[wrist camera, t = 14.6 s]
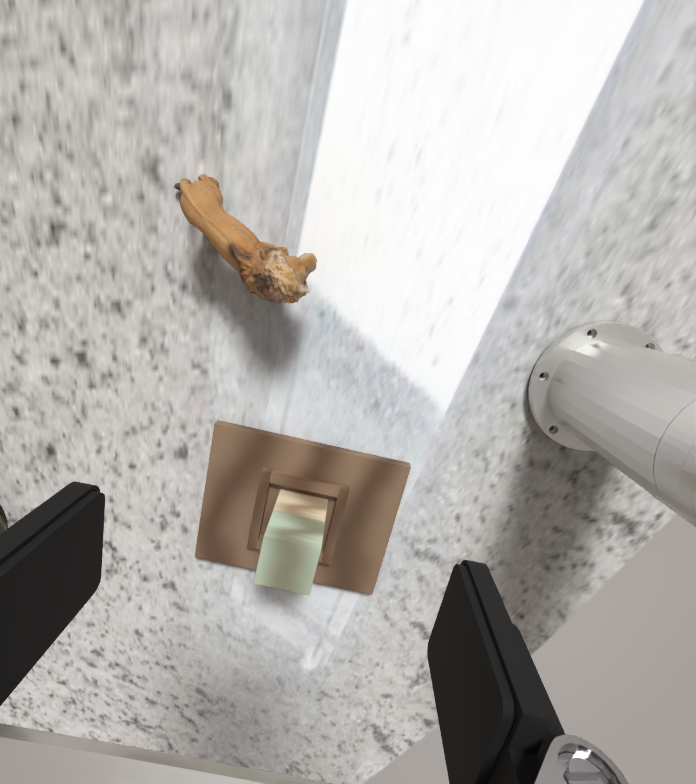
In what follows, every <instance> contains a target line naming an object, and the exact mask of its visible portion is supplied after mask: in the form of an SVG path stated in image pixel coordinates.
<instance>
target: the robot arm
mask: <svg viewBox="0 0 696 784" xmlns="http://www.w3.org/2000/svg"><path fill="white" fill-rule="evenodd" d="M588 331H589V334H588V335H587V332H588ZM541 373H543V374H542V376H541V377H539V376H540V374H541ZM528 400H529V406H530V411H531V413H532V415H533V418H534V420H535V422H536V423H537V425H538V426H539V427H540V429H541V430H542V431H543V432H544V433H545V434H546V435H547V436H548V437H550V438H551V439H553V440H554V441H555V442H557V443H558V444H560V445H563V446H565V447H567V448H570V449H574V450H579V451H595V452H596V453H598V454H599V455H600V456H601V457H603V458H604V459H605V460H607V461H608V462H609V463H611V464H612V465H613V466H615V467H616V468H617V469H619V470H620V471H621V472H622V473H624V474H625V475H626V476H628V477H629V478H630V479H632V480H633V481H634V482H636V483H637V484H638V485H640V486H641V487H642V488H643V489H645V490H646V491H647V492H649V493H650V494H651V495H653V496H654V497H655V498H657V499H658V500H659V501H661V502H662V503H663V504H665V505H666V506H667V507H669V508H670V509H671V510H673V511H674V512H675V513H677V514H678V515H679V516H681V517H682V518H683V519H685V520H686V521H688V522H689V523H690V524H692V525H694V526H695V527H696V361H695V360H692V359H688V358H684V357H680V356H677V355H673V354H669V353H665V352H663V350H662V348H661V347H660V345H659V344H658V342H657V341H656V340H655V339H654V338H653V337H652V336H651V335H649V334H648V333H646V332H645V331H643V330H641V329H640V328H637V327H634V326H632V325H629V324H625V323H620V322H611V321H600V322H593V323H588V324H585V325H582V326H579V327H576V328H574V329H572V330H570V331H568V332H567V333H565V334H563V335H562V336H560V337H559V338H558V339H557V340H555V341H554V342H553V343H552V344H551V345H550V346H549V347H548V348H547V349H546V350H545V351H544V352H543V354H542V355H541V357H540V358H539V360H538V362H537V363H536V365H535V367H534V370H533V372H532V375H531V378H530V383H529V388H528ZM551 426H552V427H551ZM550 427H551V428H550ZM104 509H105V495H104V494H103V493H100V489H99V487H98V486H95V485H90V484H85V483H80V482H72V483H70V484H69V485H67V486H66V487H64V488H63V489H62V490H60V491H59V492H58V493H56V494H55V495H53V496H52V497H51V498H49V499H48V500H47V501H45V502H44V503H42V504H41V505H40V506H38V507H37V508H36V509H34V510H33V511H31V512H30V513H29V514H27V515H26V516H24V517H23V518H22V519H20V520H19V521H18V522H16V523H15V524H13V525H12V526H11V527H9V528H8V529H7V530H5V531H4V532H2V533H1V534H0V706H1V705H2V703H3V702H4V701H5V700H6V699H7V697H8V696H9V695H10V694H11V693H12V691H13V690H14V689H15V688H16V687H17V685H18V684H19V683H20V682H21V681H22V679H23V678H24V677H25V676H26V675H27V673H28V672H29V671H30V670H31V669H32V667H33V666H34V665H35V664H36V663H37V661H38V660H39V659H40V658H41V657H42V655H43V654H44V653H45V652H46V651H47V649H48V648H49V647H50V646H51V645H52V643H53V642H54V641H55V640H56V639H57V637H58V636H59V635H60V634H61V632H62V631H63V630H64V629H65V628H66V626H67V625H68V624H69V623H70V622H71V620H72V619H73V618H74V617H75V616H76V614H77V613H78V612H79V611H80V610H81V608H82V607H83V606H84V605H85V604H86V602H87V601H88V600H89V599H90V598H91V596H92V595H93V594H94V593H95V591H96V590H97V588H98V586H99V583H100V580H101V568H102V549H103V529H104ZM427 653H428V662H429V667H430V673H431V679H432V685H433V691H434V696H435V702H436V708H437V714H438V719H439V725H440V731H441V737H442V742H443V748H444V754H445V760H446V765H447V771H448V777H449V783H450V784H628V782H627V780H626V779H625V777H624V775H623V774H622V772H621V771H620V770H619V769H618V767H617V766H616V765H615V764H614V763H613V762H612V760H611V759H610V758H609V757H608V756H606V755H605V754H604V753H603V752H602V751H601V750H600V749H599V748H597V747H596V746H594V745H592V744H591V743H589V742H588V741H587V740H584V739H582V738H579V737H576V736H574V735H565V733H564V730H563V728H562V726H561V724H560V722H559V719H558V717H557V715H556V712H555V710H554V708H553V706H552V703H551V701H550V699H549V697H548V694H547V692H546V690H545V687H544V685H543V683H542V681H541V678H540V676H539V674H538V672H537V669H536V667H535V665H534V663H533V660H532V658H531V656H530V653H529V651H528V649H527V647H526V644H525V642H524V640H523V638H522V635H521V633H520V631H519V630H518V628H517V626H515V625H514V624H512V622H511V620H510V617H509V615H508V613H507V610H506V608H505V606H504V603H503V601H502V599H501V596H500V594H499V592H498V590H497V587H496V585H495V583H494V580H493V578H492V576H491V573H490V571H489V569H488V567H487V565H486V564H484V563H479V562H474V561H469V560H463V561H462V563H461V565H460V564H456V565H455V566H454V568H453V571H452V574H451V577H450V580H449V582H448V585H447V588H446V591H445V594H444V597H443V600H442V603H441V606H440V609H439V612H438V615H437V618H436V621H435V624H434V627H433V630H432V633H431V636H430V639H429V642H428V650H427ZM0 784H331V783H326V782H321V781H315V780H310V779H305V778H300V777H294V776H289V775H284V774H278V773H273V772H268V771H262V770H257V769H251V768H246V767H241V766H235V765H230V764H224V763H219V762H213V761H208V760H203V759H197V758H192V757H186V756H181V755H175V754H170V753H164V752H159V751H153V750H148V749H142V748H137V747H131V746H125V745H120V744H114V743H108V742H103V741H97V740H91V739H86V738H80V737H74V736H69V735H63V734H57V733H52V732H46V731H40V730H35V729H29V728H23V727H18V726H12V725H6V724H0Z"/></svg>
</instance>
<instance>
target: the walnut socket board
mask: <svg viewBox="0 0 696 784" xmlns="http://www.w3.org/2000/svg"><path fill="white" fill-rule="evenodd" d="M410 468H411V467H410V463H406V462H402V461H397V460H393V459H388V458H384V457H380V456H375V455H371V454H366V453H362V452H357V451H353V450H348V449H344V448H339V447H335V446H330V445H326V444H322V443H317V442H313V441H308V440H304V439H299V438H295V437H290V436H286V435H281V434H277V433H272V432H268V431H263V430H259V429H255V428H250V427H246V426H241V425H237V424H232V423H228V422H223V421H219V420H218V421H217V422H216V423H215V425H214V432H213V438H212V445H211V452H210V458H209V465H208V472H207V478H206V485H205V492H204V498H203V505H202V512H201V518H200V525H199V532H198V538H197V545H196V552H195V557H196V558H200V559H205V560H210V561H215V562H219V563H224V564H229V565H234V566H238V567H243V568H248V569H253V570H257V565H258V561H259V556H260V551H261V547H262V542H263V538H264V534H265V531H266V529H267V526H268V523H269V520H270V517H271V515H272V512H273V509H274V506H275V504H276V501H277V498H278V495H279V492H280V490H281V489H285V490H289V491H294V492H298V493H303V494H307V495H311V496H316V497H320V498H324V499H328V504H327V511H326V518H325V526H324V533H323V541H322V548H321V552H320V556H319V560H318V564H317V567H316V571H315V575H314V579H313V582H315V583H319V584H324V585H329V586H334V587H338V588H343V589H348V590H353V591H357V592H362V593H367V594H373V590H374V587H375V584H376V581H377V577H378V574H379V571H380V567H381V564H382V561H383V557H384V554H385V551H386V548H387V544H388V541H389V538H390V534H391V531H392V528H393V524H394V521H395V518H396V514H397V511H398V508H399V505H400V501H401V498H402V495H403V491H404V488H405V485H406V481H407V478H408V475H409V472H410Z"/></svg>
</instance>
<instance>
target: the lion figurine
mask: <svg viewBox="0 0 696 784" xmlns="http://www.w3.org/2000/svg"><path fill="white" fill-rule="evenodd" d="M198 179H199V180H198V181H195V182H193V183H192V184H191V182H190V180H188V179H182V180H181V182H180V183H177V184H175V186H174V188H176V189H178V190H180V191H181V192H182V195H181V198H180V205H181V209H182V211H183V213H184V215H185V217H186V218H187V220H188V221H189V222H190V223H191V224H192V225H193V226H195V227H196V228H198V229H199V230H200V231H201V232H202V233H203V234H204V235H205V236H206V237H207V238H208V240H209V241H210V242H211V243H212V244H213V246H214V247H215V248H216V249H217V251H218V252H219V253H220V255H221V256H222V257H223V258H224V259H225V260H226V261H227V262H228V263H229V264H230V265H231V266H232V267H233V268H235V269H236V270H237V271H238V272H239V274H240V276H241V278H242V281H243V283H244V285H245V287H246V288H247V289H249V291H250V293H254V294H256V295H258V296H260V298H262V299H266V300H269V301H270V302H272V301H274V302H275V303H279V304H284V303H294V302H298V300H299V298H301V297H302V296H305V295H306V294H307V293H309V290H308V286H307V282H306V278H307V277H308V275H309V274H310V273H311V272H313V271H314V270H315V269H316V262H317V260H316V257H315V255H314V254H312V253H304V254H303V255H301V256H300V257H298V258H297V257H295V256H288V251H287V248H284V247H276V246H275V245H273V244H269V243H264V242H260V241H259V240H258V238H257V237H256V236H255V234H253V233H252V232H251V231H250V230H249V229H248V228H247V227H246V226H245V225H243V224H242V223H241V222H239V221H238V220H237V219H236V218H234V217H233V216H231V215H229V214H228V213H226V212H225V210H224V209H223V206H222V204H223V197H222V194H221V191H220V190H219V184H218V182H217V180H215V179H213V178H211V177H208V176H207V175H205V174H202V175H200V176H199V177H198Z"/></svg>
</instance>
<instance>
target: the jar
mask: <svg viewBox="0 0 696 784" xmlns="http://www.w3.org/2000/svg"><path fill="white" fill-rule="evenodd" d="M5 530H7V521H6V517H5V514H4V512H3V510H2V508H1V506H0V534H1V533H2V532H4V531H5Z"/></svg>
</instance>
